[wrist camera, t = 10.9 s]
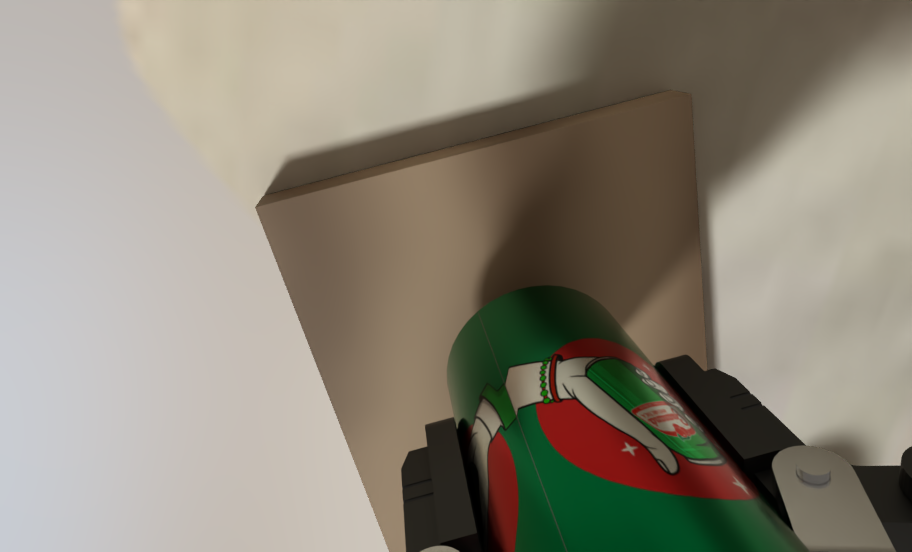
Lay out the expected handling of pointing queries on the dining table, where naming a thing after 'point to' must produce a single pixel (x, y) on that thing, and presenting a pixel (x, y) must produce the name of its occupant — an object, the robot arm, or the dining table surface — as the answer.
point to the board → (486, 261)
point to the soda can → (590, 440)
